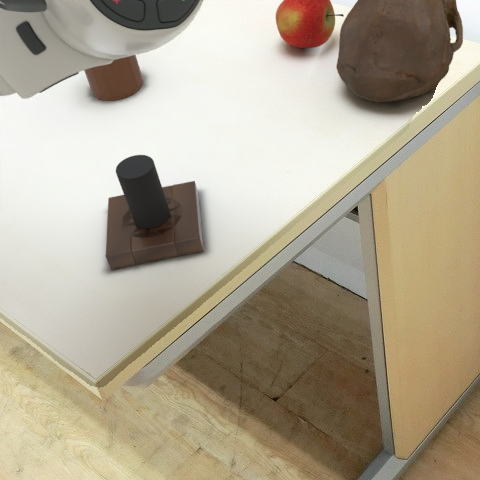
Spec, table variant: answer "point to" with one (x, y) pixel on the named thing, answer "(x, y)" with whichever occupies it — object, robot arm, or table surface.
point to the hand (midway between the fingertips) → (79, 13)
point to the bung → (143, 191)
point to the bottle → (115, 79)
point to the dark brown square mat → (155, 229)
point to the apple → (305, 22)
